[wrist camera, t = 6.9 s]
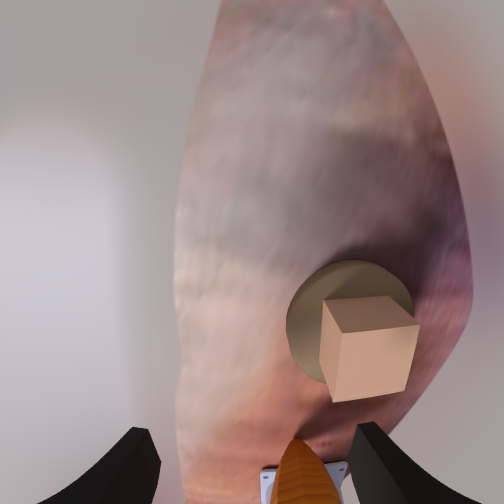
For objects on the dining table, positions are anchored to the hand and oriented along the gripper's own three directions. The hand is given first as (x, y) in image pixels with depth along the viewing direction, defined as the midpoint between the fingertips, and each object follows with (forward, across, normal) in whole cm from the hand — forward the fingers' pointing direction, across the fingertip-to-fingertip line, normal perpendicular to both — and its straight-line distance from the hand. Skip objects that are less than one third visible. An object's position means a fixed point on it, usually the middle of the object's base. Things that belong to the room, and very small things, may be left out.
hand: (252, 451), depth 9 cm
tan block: (+8, -6, 0) cm, 10 cm away
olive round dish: (+10, -6, 0) cm, 12 cm away
